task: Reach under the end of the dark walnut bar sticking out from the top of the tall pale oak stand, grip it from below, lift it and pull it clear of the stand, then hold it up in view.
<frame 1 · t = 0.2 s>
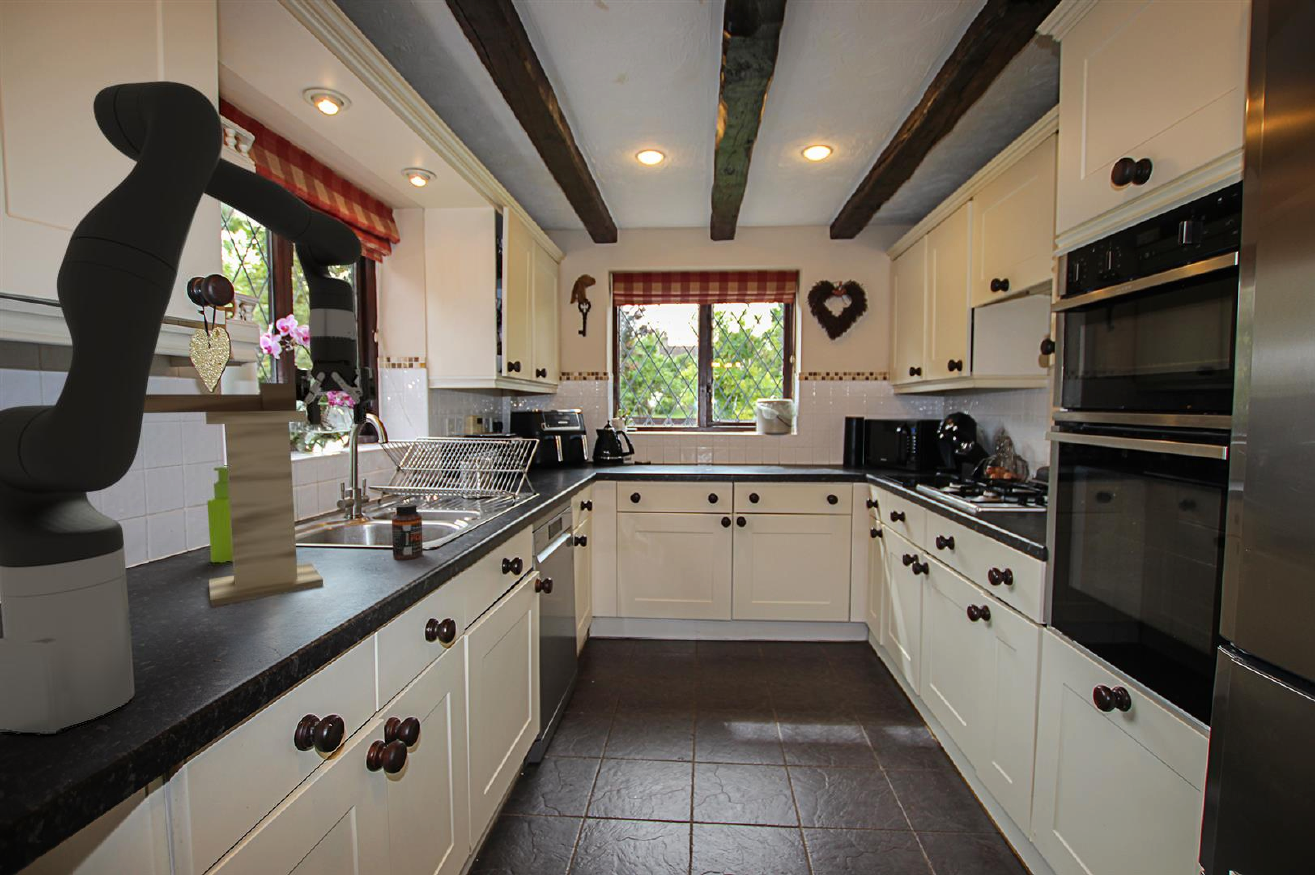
hand: (337, 424, 103), 29 cm above the countertop, tool pointing down, fingers open, 8 cm apart
walnut bar: (219, 411, 95), point 32 cm above the countertop, touching hand, oak stand
soap dispenser: (230, 559, 119), on the countertop
supplement bottle: (408, 557, 119), on the countertop
oak stand: (266, 585, 101), on the countertop
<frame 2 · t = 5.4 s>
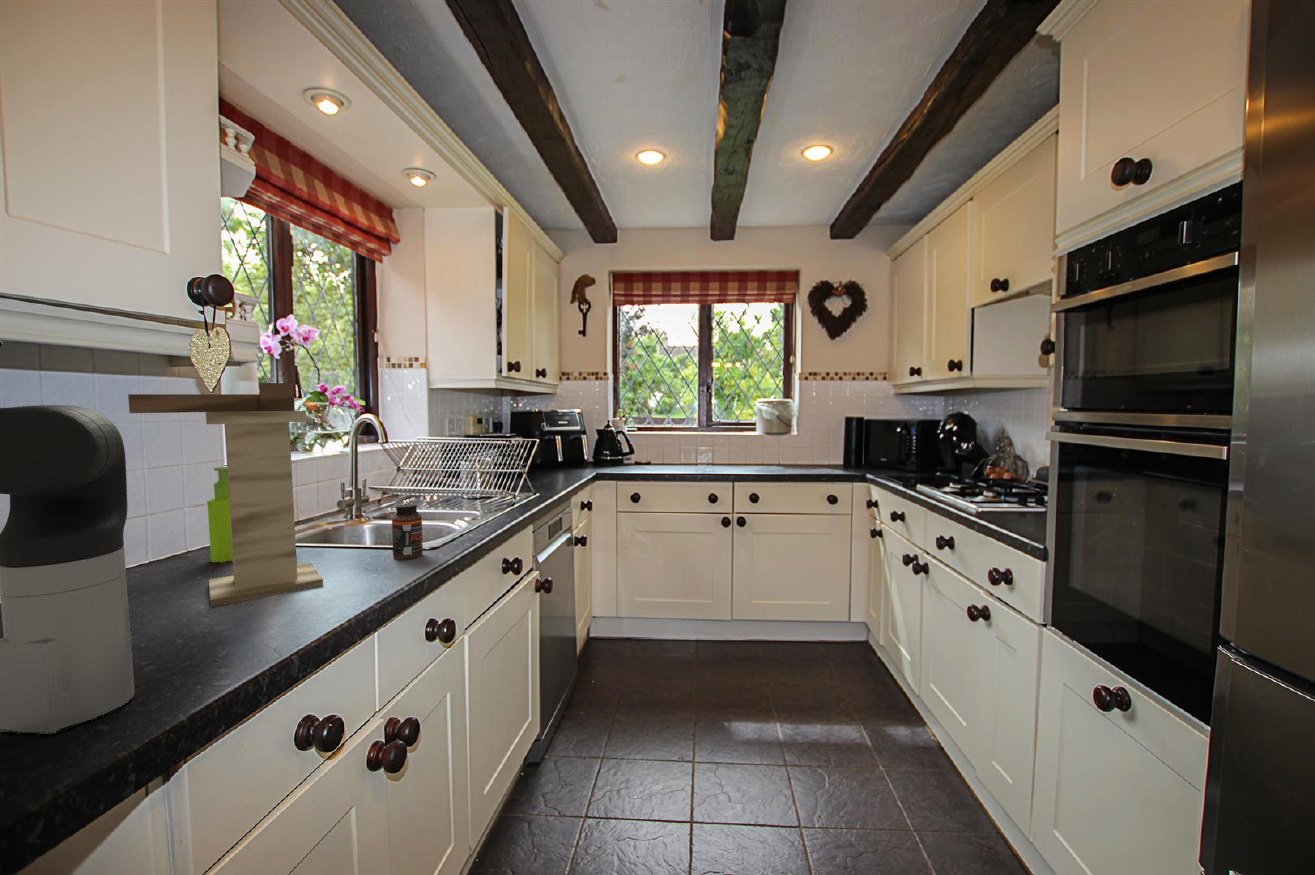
walnut bar: (218, 411, 95), point 32 cm above the countertop, touching oak stand
everything else where it was.
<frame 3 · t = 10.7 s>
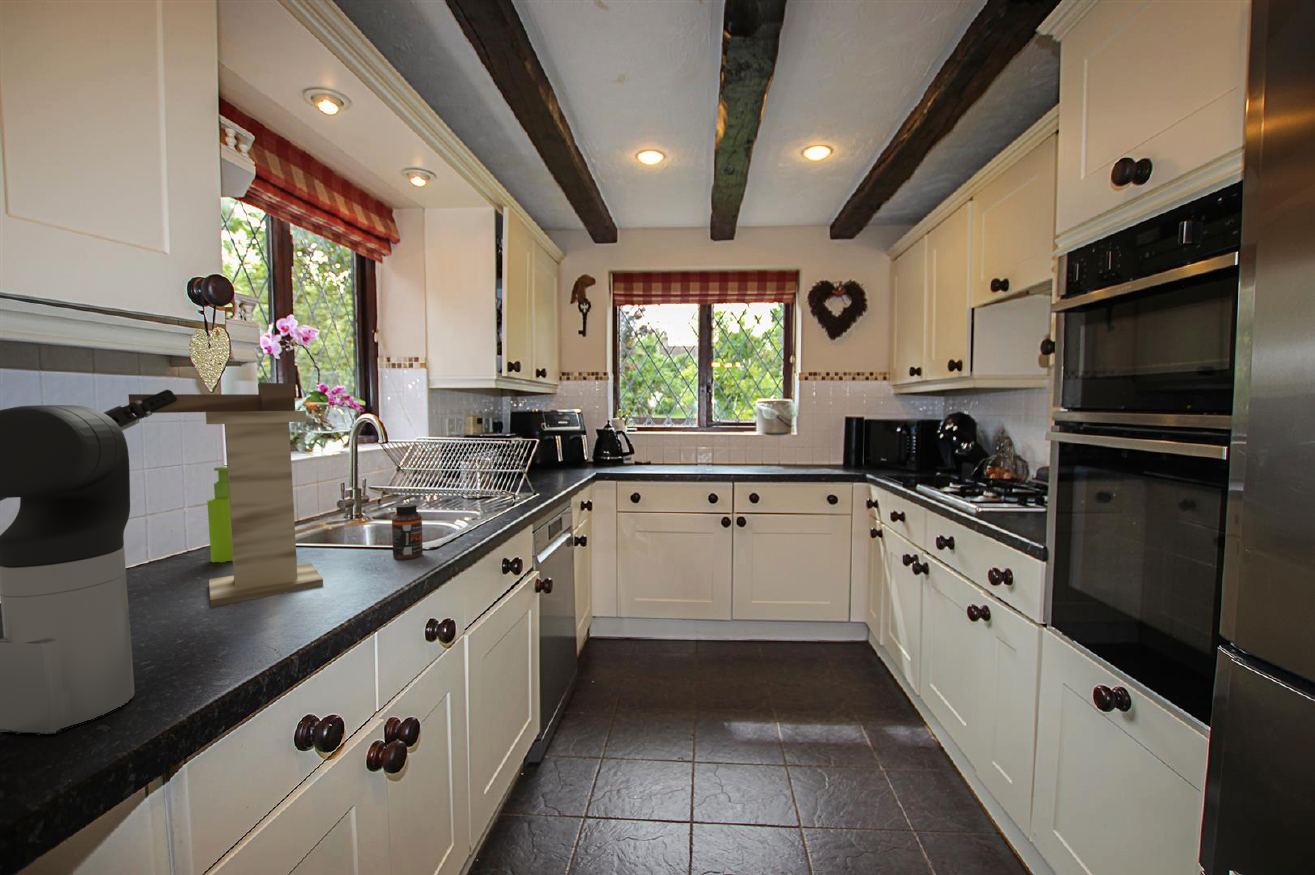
hand: (173, 394, 92), 35 cm above the countertop, tool pointing upward, fingers closed on walnut bar, 3 cm apart
walnut bar: (218, 411, 95), point 32 cm above the countertop, touching gripper, oak stand
everything else where it was.
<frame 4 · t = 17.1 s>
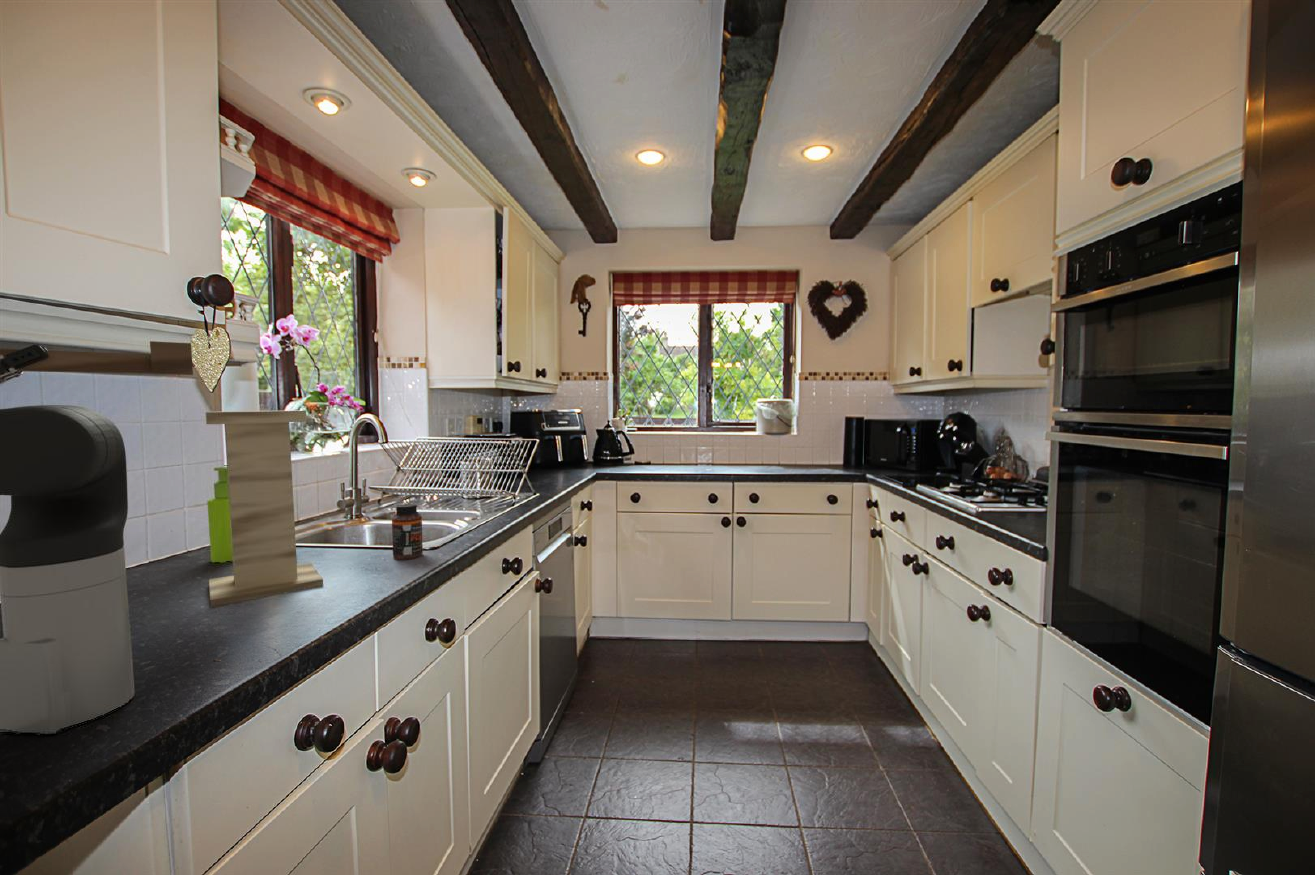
hand: (45, 351, 82), 41 cm above the countertop, tool pointing upward, fingers closed on walnut bar, 3 cm apart
walnut bar: (100, 372, 86), point 38 cm above the countertop, touching gripper
everything else where it was.
at the end: the gripper is holding walnut bar; walnut bar moved 15.7 cm from its start; walnut bar point 38.4 cm above the countertop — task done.
